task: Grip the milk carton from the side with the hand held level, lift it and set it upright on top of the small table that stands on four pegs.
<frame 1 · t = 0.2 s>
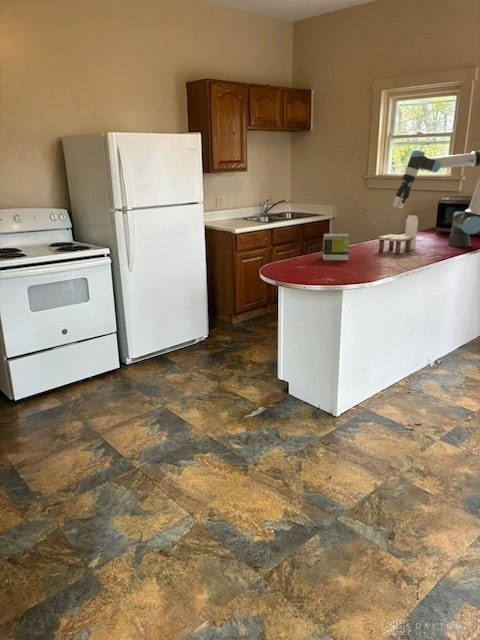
hand: (397, 207, 324), 27 cm above the countertop, tool tilted 15°, fingers open, 13 cm apart
tea box: (335, 259, 301), on the countertop
milk: (409, 248, 333), on the countertop
small table: (394, 252, 321), on the countertop
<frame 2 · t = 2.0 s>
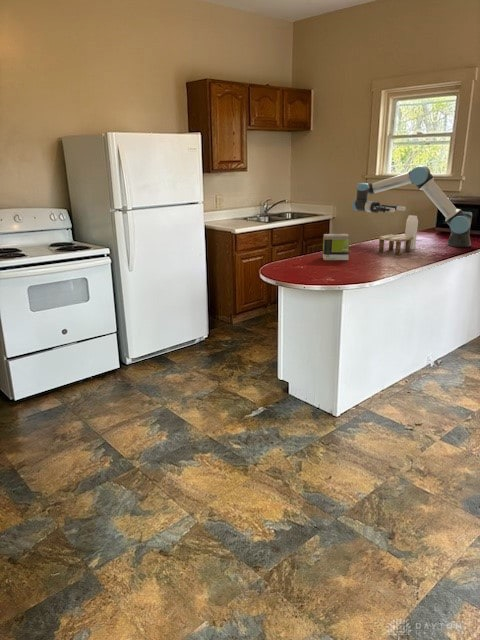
hand: (400, 209, 331), 25 cm above the countertop, tool horizontal, fingers open, 13 cm apart
nothing on the countertop moved.
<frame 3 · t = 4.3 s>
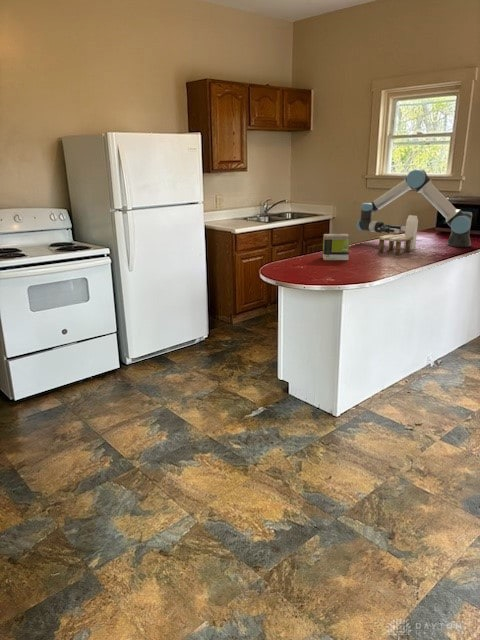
hand: (404, 230, 332), 12 cm above the countertop, tool horizontal, fingers open, 13 cm apart
nothing on the countertop moved.
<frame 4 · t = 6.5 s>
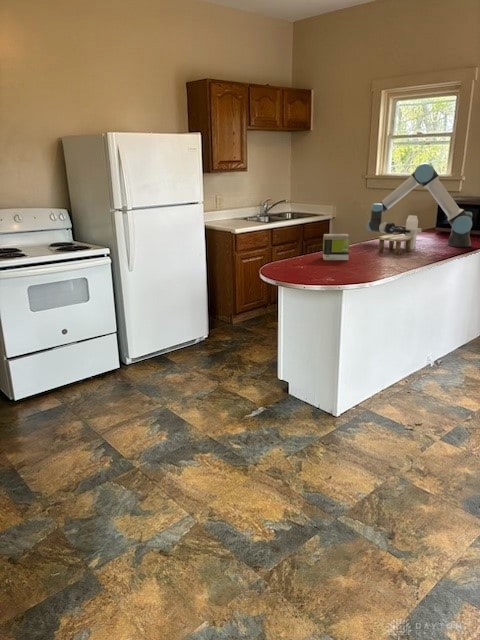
hand: (418, 231, 325), 12 cm above the countertop, tool horizontal, fingers closed on milk, 7 cm apart
milk: (409, 248, 333), on the countertop, touching gripper
everything else where it was.
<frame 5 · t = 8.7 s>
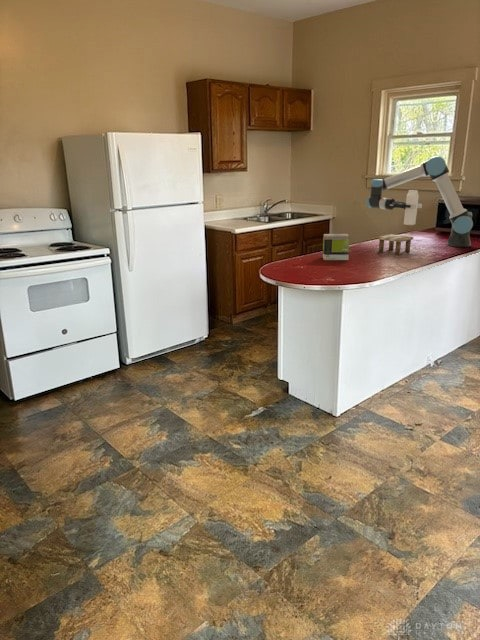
hand: (418, 206, 319), 28 cm above the countertop, tool horizontal, fingers closed on milk, 7 cm apart
milk: (409, 224, 327), point 16 cm above the countertop, touching gripper
everything else where it was.
when the fingers open (23 cm above the countertop, at t = 11.1 s): milk drops 1 cm, resting on small table.
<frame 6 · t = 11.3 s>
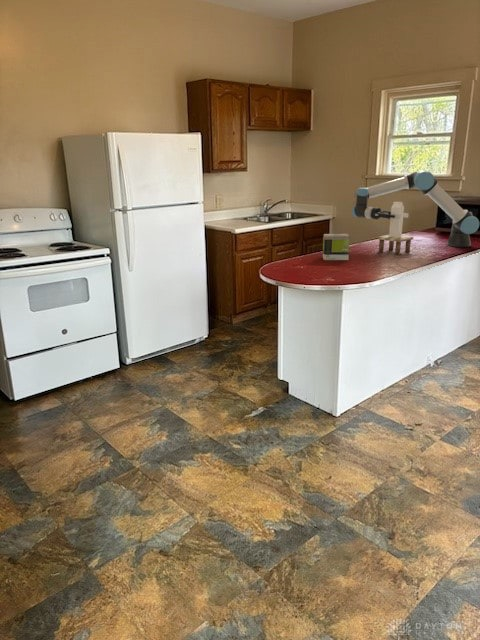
hand: (404, 216, 310), 23 cm above the countertop, tool horizontal, fingers open, 9 cm apart
milk: (395, 237, 317), point 10 cm above the countertop, touching small table
everything else where it was.
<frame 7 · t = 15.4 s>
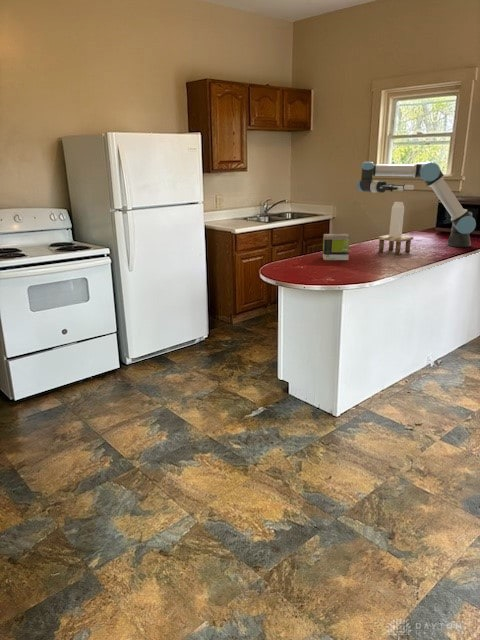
hand: (408, 188, 313), 40 cm above the countertop, tool horizontal, fingers open, 13 cm apart
nothing on the countertop moved.
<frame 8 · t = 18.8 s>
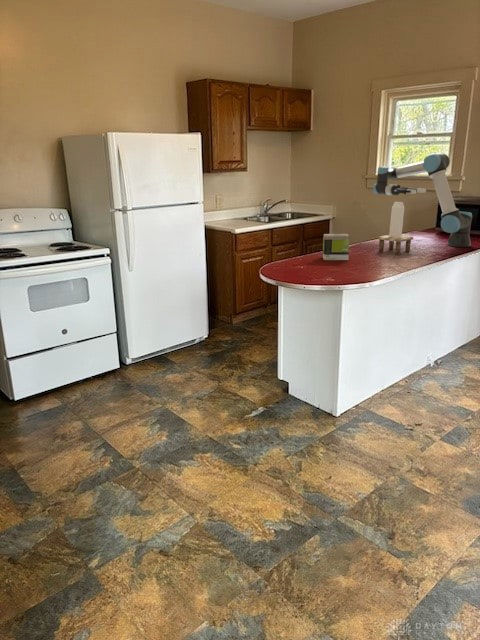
hand: (420, 191, 340), 36 cm above the countertop, tool horizontal, fingers open, 13 cm apart
nothing on the countertop moved.
at the end: milk inside the target area on the small table (0.2 cm from its centre), point 9.8 cm above the small table's base; milk tilted 0°; the gripper is holding nothing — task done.
